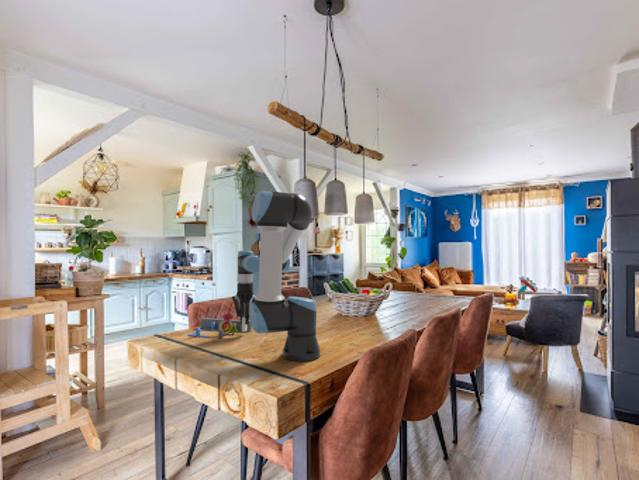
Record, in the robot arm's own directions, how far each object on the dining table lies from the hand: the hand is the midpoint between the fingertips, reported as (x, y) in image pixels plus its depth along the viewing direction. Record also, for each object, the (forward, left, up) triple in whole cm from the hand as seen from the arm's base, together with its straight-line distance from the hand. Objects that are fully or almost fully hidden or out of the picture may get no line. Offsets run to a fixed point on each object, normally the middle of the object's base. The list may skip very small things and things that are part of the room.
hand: (244, 330), depth 170 cm
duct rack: (+1, +15, -2) cm, 15 cm away
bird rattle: (0, +9, -3) cm, 9 cm away
